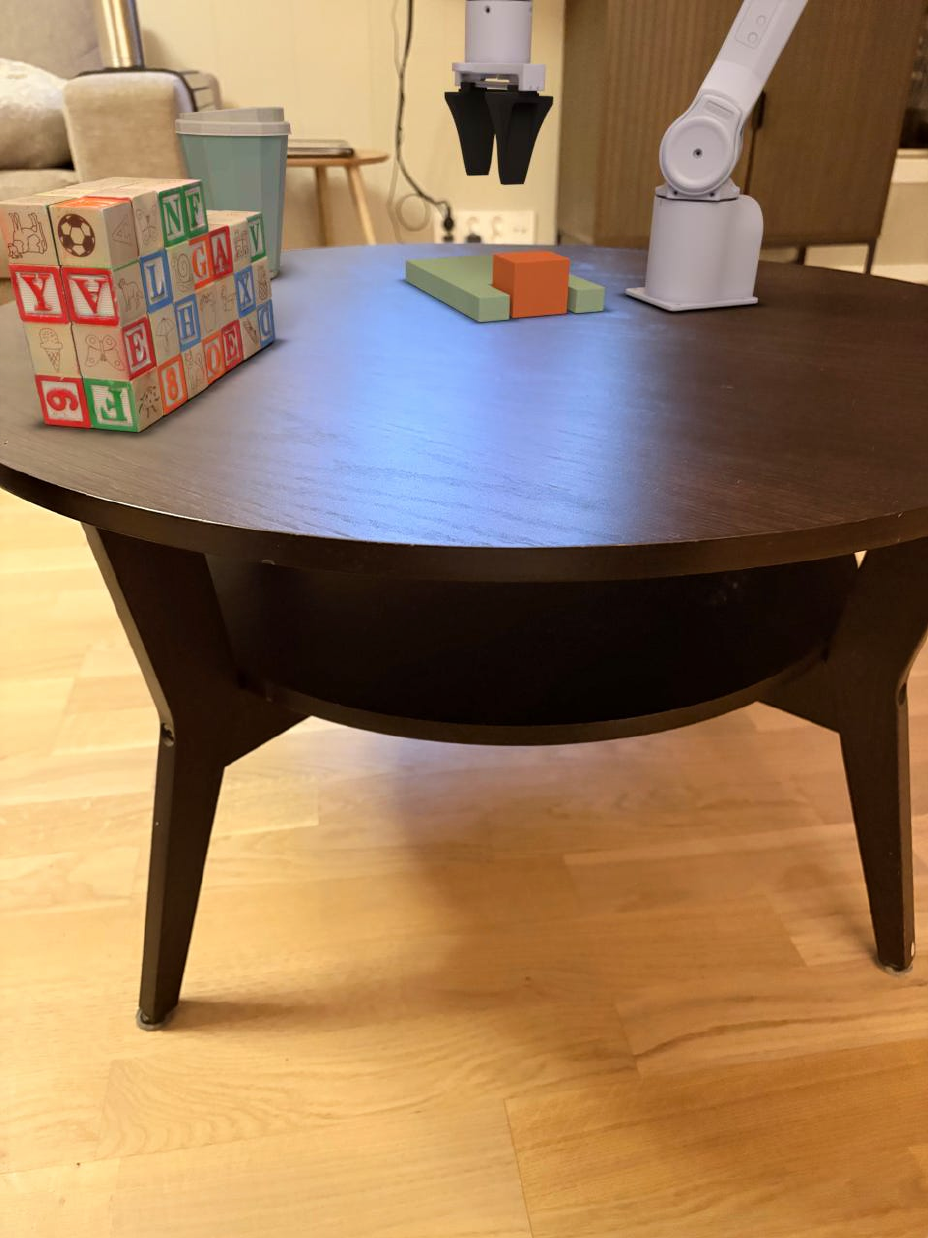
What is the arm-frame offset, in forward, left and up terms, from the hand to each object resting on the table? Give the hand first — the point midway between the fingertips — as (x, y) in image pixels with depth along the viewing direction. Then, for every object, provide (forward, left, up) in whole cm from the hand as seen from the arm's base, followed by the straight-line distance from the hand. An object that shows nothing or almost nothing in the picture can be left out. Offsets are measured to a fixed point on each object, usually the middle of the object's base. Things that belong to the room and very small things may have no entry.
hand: (494, 179), depth 85 cm
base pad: (+1, +4, -9) cm, 10 cm away
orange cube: (+1, +10, -9) cm, 14 cm away
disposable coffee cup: (+21, -13, -10) cm, 27 cm away
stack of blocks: (+33, +20, -10) cm, 39 cm away
